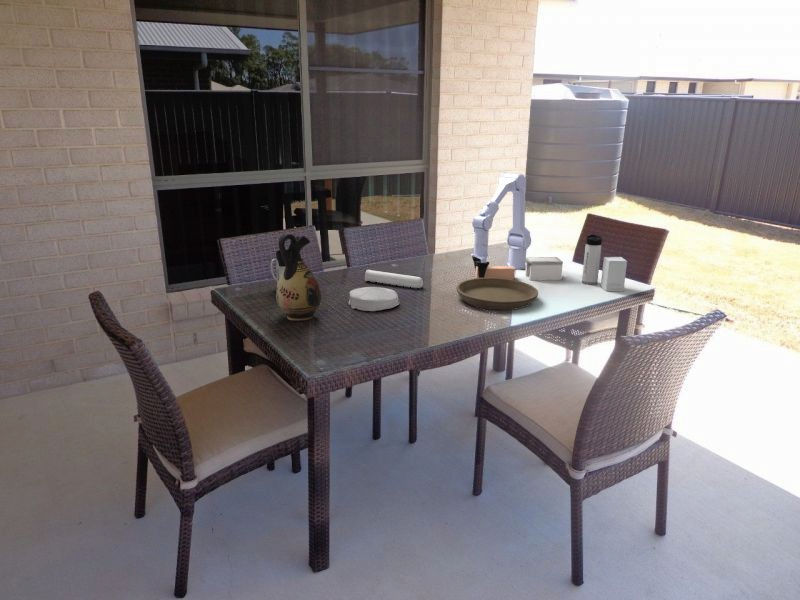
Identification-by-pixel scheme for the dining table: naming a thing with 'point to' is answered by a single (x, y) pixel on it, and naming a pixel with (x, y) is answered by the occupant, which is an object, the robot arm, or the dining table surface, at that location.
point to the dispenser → (543, 268)
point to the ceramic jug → (297, 282)
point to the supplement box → (613, 273)
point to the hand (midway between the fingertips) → (479, 275)
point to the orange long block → (498, 272)
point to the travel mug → (592, 259)
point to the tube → (393, 279)
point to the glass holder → (279, 265)
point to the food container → (373, 298)
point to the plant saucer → (497, 293)
